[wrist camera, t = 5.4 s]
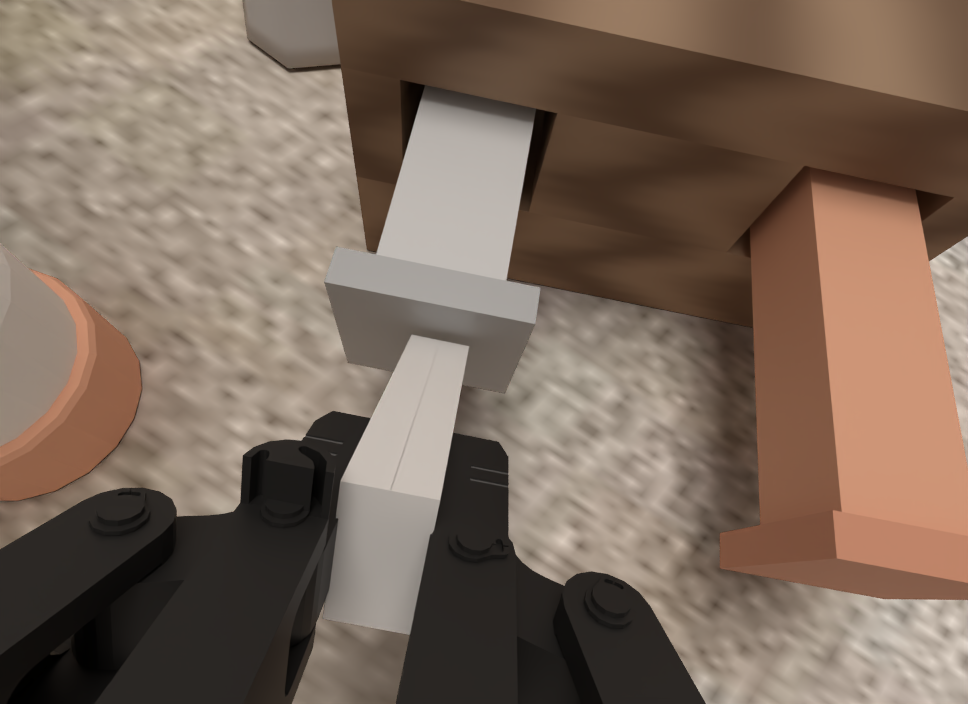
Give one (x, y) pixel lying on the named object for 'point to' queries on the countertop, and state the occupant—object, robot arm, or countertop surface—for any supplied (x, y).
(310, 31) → the flask
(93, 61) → the countertop surface
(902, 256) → the plug terracotta
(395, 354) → the plug grey
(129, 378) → the salt shaker
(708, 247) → the block
